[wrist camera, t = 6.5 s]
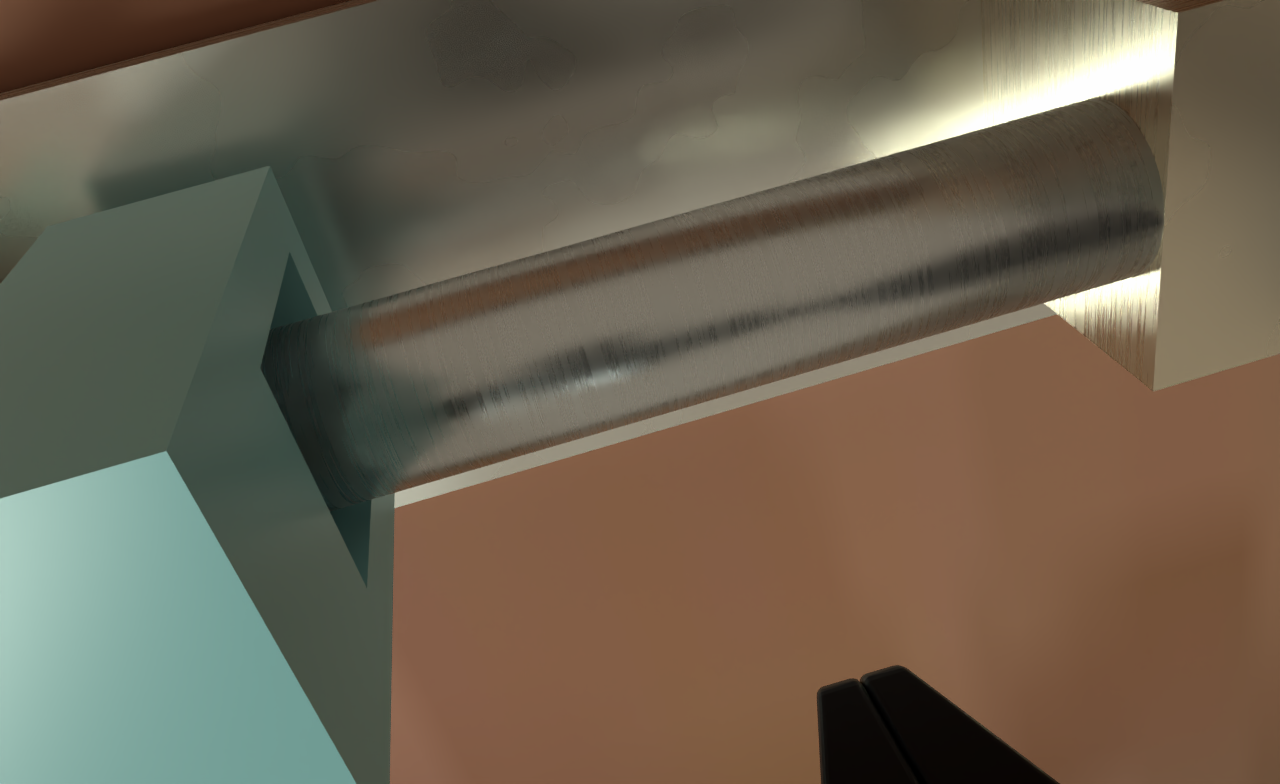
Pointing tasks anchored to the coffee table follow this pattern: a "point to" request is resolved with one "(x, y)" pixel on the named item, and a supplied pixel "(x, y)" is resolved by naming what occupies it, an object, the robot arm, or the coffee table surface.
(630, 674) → the coffee table surface
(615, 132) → the pipe rig
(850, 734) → the robot arm
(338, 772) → the collar
